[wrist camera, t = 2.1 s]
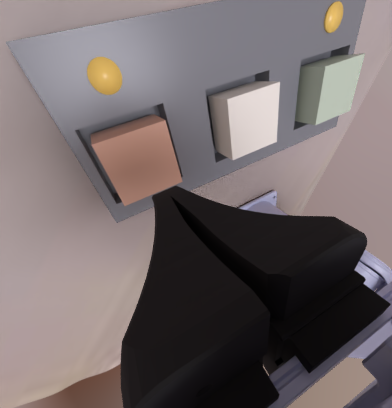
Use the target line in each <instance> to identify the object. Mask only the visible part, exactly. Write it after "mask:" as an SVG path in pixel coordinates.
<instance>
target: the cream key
mask: <svg viewBox="0 0 392 408" xmlns="http://www.w3.org/2000/svg"><path fill="white" fill-rule="evenodd" d="M279 92H280V82H271V81H254V82H251V83H248V84H245V85H242V86H239V87H235V88H232V89H229V90H226V91H223V92H220V93H217V94H214V95H211V96H208V99H209V106H210V113H211V120H212V127H213V134H214V141H215V149H216V151H217V152H219V153H221V154H222V155H224V156H226V157H228V158H229V159H231V160H235V159H237V158H240V157H242V156H244V155H247V154H249V153H251V152H254V151H256V150H259V149H261V148H263V147H266V146H268V145H270V144H273V143H275V142H277V127H278V110H279Z"/></svg>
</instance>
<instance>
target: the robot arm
mask: <svg viewBox="0 0 392 408" xmlns="http://www.w3.org/2000/svg"><path fill="white" fill-rule="evenodd" d="M276 199H277V192H276V191H271V192H269V193H267V194H265V195H263V196H261V197H259V198H257V199H255V200H253V201H251V202H249V203H247V204H245V205H243V206H241V207H239V208H235V207H231V206H227V205H223V204H220V203H217V202H214V201H211V200H208V199H206V198H203V197H201V196H198V195H196V194H194V193H192V192H189V191H187V190H185V189H183V188H181V187H179V186H174V187H171V188H169V189H167V190H164V191H162V192H160V193H157V194H155V195H153V196H152V200H153V203H154V208H155V236H154V245H153V251H152V256H151V261H150V265H149V269H148V273H147V277H146V280H145V283H144V286H143V289H142V292H141V295H140V298H139V301H138V304H137V307H136V309H135V312H134V314H133V316H132V319H131V321H130V324H129V326H128V329H127V331H126V333H125V336H124V338H123V341H122V349H121V391H122V398H123V399H122V400H123V407H124V408H287V407H288V406H289V405H290V404H291V403H293V402H294V401H295V400H296V399H297V398H298V397H300V396H301V395H302V394H303V393H304V392H306V391H307V390H308V389H309V388H310V387H312V386H313V385H314V384H315V383H316V382H318V381H319V380H320V379H321V378H322V377H324V376H325V375H326V374H327V373H328V372H329V371H331V370H332V369H333V368H334V367H335V366H337V365H338V364H339V363H340V362H341V361H343V360H344V359H345V358H346V357H351V358H361V359H364V360H363V361H362V363H363V365H364V367H365V368H366V369H367V370H368V371H369V372H370V373H371V374H372V375H373V376H374V377H375V378H376V379H375V380H374V381H373V382H372V383H371V384H369V385H368V386H367V387H366V388H365V389H364V390H363V391H362V392H360V393H359V394H358V395H357V396H356V397H355V398H353V399H352V400H351V401H350V402H349V403H348V404H347V405H346V406H344V407H343V408H392V269H390V268H389V267H388V266H387V265H386V264H385V263H383V262H382V261H381V260H379V259H378V258H377V257H375V256H374V255H372V254H371V253H369V252H368V251H366V250H365V248H366V245H367V238H366V236H365V234H364V233H362V232H360V231H359V230H357V229H355V228H353V227H352V226H350V225H348V224H346V223H344V222H343V221H341V220H339V219H337V218H335V217H325V216H290V215H287V214H286V213H284V212H283V211H281V210H280V209H278V208H277V207H276ZM376 289H377V290H376ZM375 290H376V291H375ZM374 291H375V292H374ZM263 365H264V367H265V369H266V370H267V372H268V373H269V376H268V375H267V373H266V371H265V370H264V368H263Z"/></svg>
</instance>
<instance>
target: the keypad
mask: <svg viewBox="0 0 392 408" xmlns="http://www.w3.org/2000/svg"><path fill="white" fill-rule="evenodd" d="M365 2H366V0H221V1H216V2H210V3H205V4H200V5H195V6H190V7H185V8H179V9H174V10H169V11H164V12H159V13H154V14H148V15H143V16H138V17H133V18H128V19H122V20H117V21H112V22H107V23H102V24H97V25H91V26H86V27H81V28H76V29H71V30H66V31H60V32H55V33H50V34H45V35H40V36H35V37H29V38H24V39H19V40H14V41H9V42H6V44H7V45H8V47H9V49H10V50H11V52H12V53H13V55H14V57H15V58H16V60H17V62H18V63H19V65H20V67H21V68H22V70H23V71H24V73H25V75H26V76H27V78H28V80H29V81H30V83H31V84H32V86H33V88H34V89H35V91H36V93H37V94H38V96H39V97H40V99H41V101H42V102H43V104H44V106H45V107H46V109H47V110H48V112H49V114H50V115H51V117H52V119H53V120H54V122H55V123H56V125H57V127H58V128H59V130H60V132H61V133H62V135H63V136H64V138H65V140H66V141H67V143H68V145H69V146H70V148H71V149H72V151H73V153H74V154H75V156H76V158H77V159H78V161H79V162H80V164H81V166H82V167H83V169H84V171H85V172H86V174H87V175H88V177H89V179H90V180H91V182H92V184H93V185H94V187H95V189H96V190H97V192H98V193H99V195H100V197H101V198H102V200H103V202H104V203H105V205H106V206H107V208H108V210H109V211H110V213H111V215H112V216H113V218H114V219H115V221H116V223H118V222H120V221H122V220H125V219H127V218H129V217H131V216H134V215H136V214H138V213H140V212H143V211H145V210H147V209H150V208H152V207H154V203H153V200H152V196H153V195H155V194H157V193H160V192H162V191H164V190H167V189H169V188H171V187H174V186H179V187H181V188H183V189H185V190H187V191H190V190H193V189H195V188H197V187H200V186H202V185H204V184H206V183H209V182H211V181H213V180H215V179H218V178H220V177H222V176H224V175H227V174H229V173H231V172H234V171H236V170H238V169H240V168H243V167H245V166H247V165H249V164H252V163H254V162H256V161H259V160H261V159H263V158H265V157H268V156H270V155H272V154H274V153H277V152H279V151H281V150H284V149H286V148H288V147H290V146H293V145H295V144H297V143H299V142H302V141H304V140H306V139H308V138H311V137H313V136H315V135H318V134H320V133H322V132H324V131H327V130H329V129H331V128H333V127H336V125H337V121H338V117H339V116H336V117H334V118H332V119H329V120H327V121H325V122H322V123H320V124H317V125H311V124H307V123H302V122H297V121H295V112H296V103H297V93H298V84H299V75H300V67H301V66H304V65H307V64H310V63H313V62H316V61H319V60H323V59H326V58H329V57H332V56H338V55H351V54H353V53H354V49H355V45H356V41H357V36H358V32H359V28H360V24H361V19H362V15H363V11H364V7H365ZM254 81H271V82H280V92H279V110H278V127H277V142H275V143H273V144H270V145H268V146H266V147H263V148H261V149H259V150H256V151H254V152H251V153H249V154H247V155H244V156H242V157H240V158H237V159H235V160H231V159H229V158H228V157H226V156H224V155H222V154H221V153H219V152H217V151H216V149H215V141H214V134H213V127H212V120H211V113H210V106H209V99H208V96H211V95H214V94H217V93H220V92H223V91H226V90H229V89H232V88H235V87H239V86H242V85H245V84H248V83H251V82H254ZM152 114H155V115H157V116H159V117H160V118H162V119H164V120H165V121H166V124H167V128H168V131H169V135H170V138H171V142H172V146H173V149H174V153H175V156H176V160H177V164H178V167H179V171H180V174H181V178H182V181H183V182H181V183H178V184H176V185H174V186H171V187H169V188H167V189H164V190H162V191H159V192H157V193H155V194H152V195H150V196H148V197H145V198H143V199H141V200H138V201H136V202H134V203H131V204H129V205H126V206H124V204H123V202H122V200H121V198H120V197H119V195H118V193H117V191H116V189H115V187H114V186H113V184H112V182H111V180H110V178H109V176H108V174H107V173H106V171H105V169H104V167H103V165H102V163H101V162H100V160H99V158H98V156H97V154H96V152H95V150H94V149H93V147H92V145H91V135H90V134H92V133H96V132H99V131H102V130H105V129H108V128H111V127H114V126H117V125H120V124H124V123H127V122H130V121H133V120H136V119H139V118H142V117H145V116H148V115H152Z"/></svg>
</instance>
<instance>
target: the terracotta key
mask: <svg viewBox="0 0 392 408" xmlns="http://www.w3.org/2000/svg"><path fill="white" fill-rule="evenodd" d="M90 135H91V145H92V147H93V149H94V150H95V152H96V154H97V156H98V158H99V160H100V162H101V163H102V165H103V167H104V169H105V171H106V173H107V174H108V176H109V178H110V180H111V182H112V184H113V186H114V187H115V189H116V191H117V193H118V195H119V197H120V198H121V200H122V202H123V204H124V206H126V205H129V204H131V203H134V202H136V201H138V200H141V199H143V198H145V197H148V196H150V195H152V194H155V193H157V192H159V191H162V190H164V189H167V188H169V187H171V186H174V185H176V184H178V183H181V182H183V181H182V178H181V174H180V171H179V167H178V164H177V160H176V156H175V153H174V149H173V146H172V142H171V138H170V135H169V131H168V128H167V124H166V121H165V120H164V119H162V118H160V117H159V116H157V115H155V114H152V115H148V116H145V117H142V118H139V119H136V120H133V121H130V122H127V123H124V124H120V125H117V126H114V127H111V128H108V129H105V130H102V131H99V132H96V133H92V134H90Z"/></svg>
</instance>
